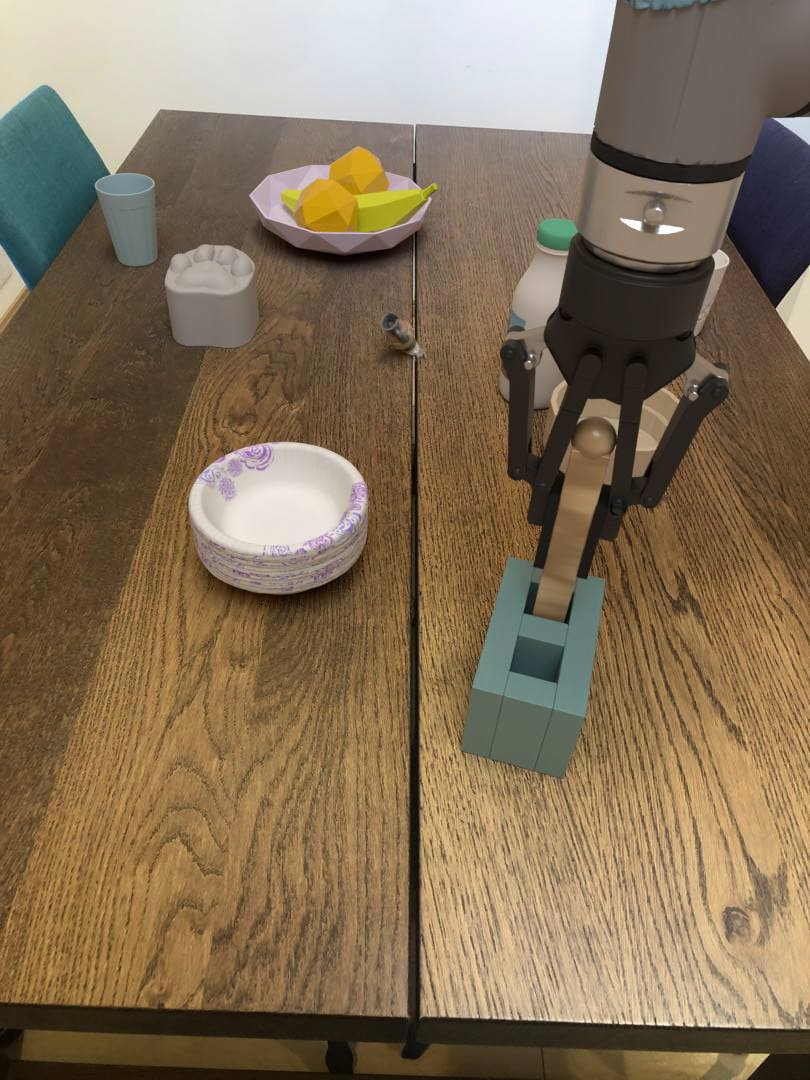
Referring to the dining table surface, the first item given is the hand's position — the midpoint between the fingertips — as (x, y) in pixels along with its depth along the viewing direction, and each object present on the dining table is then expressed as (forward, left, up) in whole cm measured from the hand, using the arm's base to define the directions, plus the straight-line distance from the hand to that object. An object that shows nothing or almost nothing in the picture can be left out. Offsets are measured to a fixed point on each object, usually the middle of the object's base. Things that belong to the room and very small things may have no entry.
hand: (562, 559), depth 59 cm
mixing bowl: (-3, -31, -13) cm, 34 cm away
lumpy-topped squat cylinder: (+48, -42, -13) cm, 65 cm away
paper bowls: (+24, -5, -13) cm, 28 cm away
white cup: (-9, -63, -13) cm, 65 cm away
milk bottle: (+7, -40, -13) cm, 43 cm away
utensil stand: (0, +3, -13) cm, 13 cm away
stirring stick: (0, 0, -12) cm, 12 cm away
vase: (+24, -42, -13) cm, 50 cm away
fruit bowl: (+41, -72, -13) cm, 84 cm away
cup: (+66, -54, -13) cm, 86 cm away
